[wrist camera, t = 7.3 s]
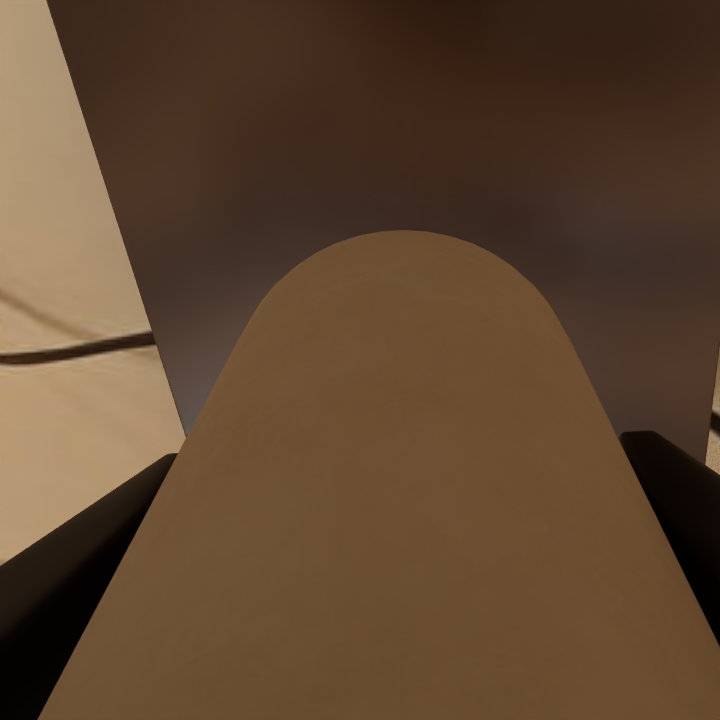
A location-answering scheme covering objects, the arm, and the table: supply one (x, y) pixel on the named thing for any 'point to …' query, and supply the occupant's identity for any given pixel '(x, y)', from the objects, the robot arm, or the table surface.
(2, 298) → the table surface
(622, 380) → the dark wooden base block
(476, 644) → the candle
